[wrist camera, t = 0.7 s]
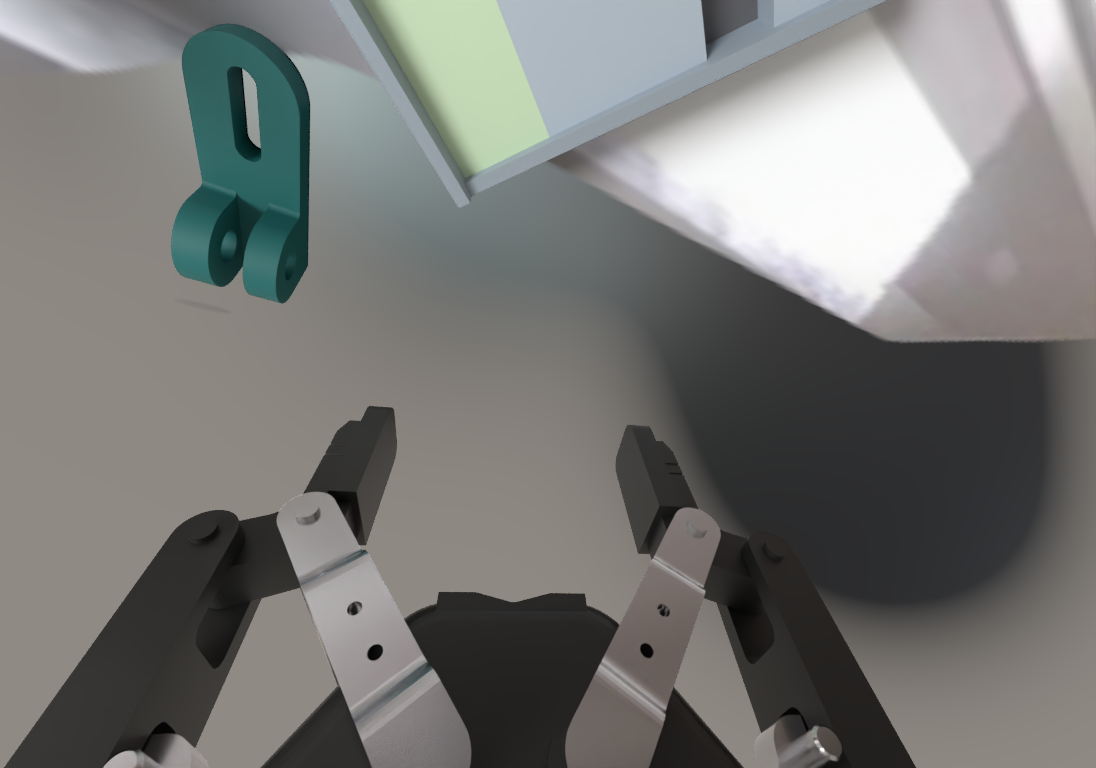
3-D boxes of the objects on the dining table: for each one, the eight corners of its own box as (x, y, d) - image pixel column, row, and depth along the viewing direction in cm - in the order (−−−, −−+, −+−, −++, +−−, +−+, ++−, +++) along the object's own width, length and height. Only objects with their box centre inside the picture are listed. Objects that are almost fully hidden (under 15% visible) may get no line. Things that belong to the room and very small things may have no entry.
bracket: (307, 265, 40) (277, 319, 35) (227, 240, 38) (182, 294, 33) (311, 55, 28) (264, 92, 23) (190, 0, 26) (109, 27, 20)
